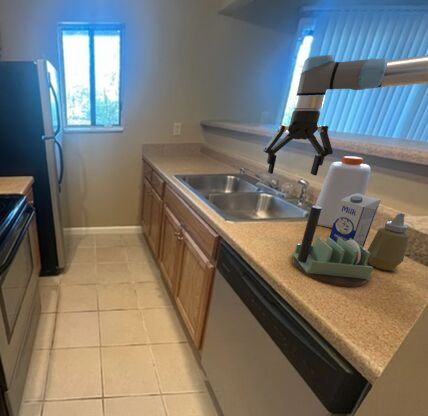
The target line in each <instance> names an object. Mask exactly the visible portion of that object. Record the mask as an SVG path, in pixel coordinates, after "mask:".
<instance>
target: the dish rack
mask: <svg viewBox="0 0 428 416" xmlns="http://www.w3.org/2000/svg"><path fill="white" fill-rule="evenodd" d="M321 209H322V208H321V207H319V206H315V205H312V206H310V211H309V215H308V218H307V222H306V225H305V229H304V233H303V237H302V240H301V243H297V244H295V249H294V251H292V256H293V258H294V257H295V258H296V260H297V261H298V262H299V263H300V265H301V266H302V267H303V269H304V270H305V271H306V272H307V273H313V274H322V275H332V276H341V277H351V278H360V279H367V280H372V276H371V274H372V272H373V270H374V267H373V266H372V265H367V263H368V258H369V255H370V252H369V251H367V250H368V249H366V248H365V247H362V246H361V245H359V244H358V243H357V242H355V241H354V240H353V239H352V238H349V240H347V241H344V240H343V239H341V238H340V237H338V240H337V243H336V242H335V241H333V240H332V239H331V238H330V237H329V236H328V235H327V236H326V239H325V240H323V239H322V238H321V237H320V236H319V235H316V236H315V233H316V230H317V226H318V225H317V223H318V220H319V216H320V213H321ZM314 237H315V238H314ZM313 240H314V242H313Z"/></svg>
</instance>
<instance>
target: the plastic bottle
mask: <svg viewBox="0 0 428 416" xmlns="http://www.w3.org/2000/svg"><path fill="white" fill-rule="evenodd" d="M363 161H364V158H363V157H360V156H352V155H346V156H345V155H344V156H343V157H342V158H341V161H333V162H332V163H331V164H330V166H329V167H328V170H327V173H326V176H325V178H324V181H323V184H322V187H321V189H320V192H319V194H318V197H317V200H316V203H315V205H314V206H319V207H321V208H322V209H321V213H320V216H319V220H318V223H317V226H320V227H325V228H330V229H332V226H333V223H334V220H335V217H336V214H337V210H338V207H339V204H340V201H341V199H343V198H346V197H348V196H350V195H352V194H356V193H360V194H363V195H367V189H368V185H369V182H370V177H371V172H372V170H371V169H372V168H371V166H370V165H369V164H366V163H363Z"/></svg>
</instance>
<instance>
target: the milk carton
mask: <svg viewBox="0 0 428 416" xmlns="http://www.w3.org/2000/svg"><path fill="white" fill-rule="evenodd" d="M381 201H382V199H381V198H378V197H375V196H370V195H367V194H365V195H363V194H360V193H356V194H352V195H350V196H348V197H346V198H343V199H341V201H340V204H339V207H338V210H337V214H336V217H335V220H334V223H333V226H332V228H331V230H330V233H329V236H328V237H330V238H331V239H332V240H333V241H335V242H336V243H337V240H338V237H340V238H341V239H343V240H344V241H347V240H349V238H352V239H353V240H354V241H355V242H357V243H358V244H359V245H361V246H362V247H363V248H365V244H366V242H367V239H368V236H369V234H370V231H371V228H372V225H373V223H374V220H375V217H376V214H377V212H378V209H379V206H380V203H381Z"/></svg>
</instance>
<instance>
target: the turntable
mask: <svg viewBox="0 0 428 416" xmlns="http://www.w3.org/2000/svg"><path fill="white" fill-rule="evenodd" d="M292 263H293V265H294V266H295V268H296V269H297V270H299V271H300V272H301V273H303V274H304V275H306V276H308V277H310V278H311V279H314V280H315V281H316V280H317V281H319V282H322V283H325V284H329V285H333V286H336V287H337V286H338V287H344V288H357V287H362V286H364V285H365V284H366V283H367V281H368V279H360V278H351V277H341V276H332V275H322V274H313V273H307V272H306V271H305V270H304V269H303V267H302V266H301V265H300V263H299V262H298V261H297V260H296V258H295V257H294V256H293V258H292Z"/></svg>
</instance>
